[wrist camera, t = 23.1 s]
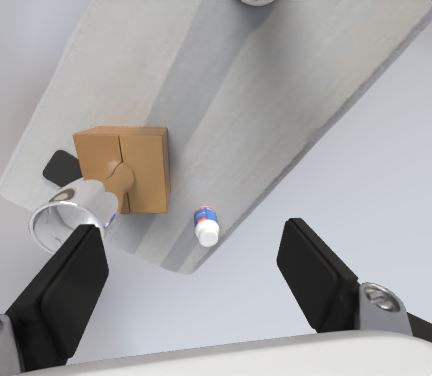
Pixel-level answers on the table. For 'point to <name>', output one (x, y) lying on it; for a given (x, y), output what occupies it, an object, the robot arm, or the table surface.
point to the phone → (62, 168)
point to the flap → (145, 172)
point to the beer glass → (82, 205)
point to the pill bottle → (206, 226)
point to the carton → (115, 151)
